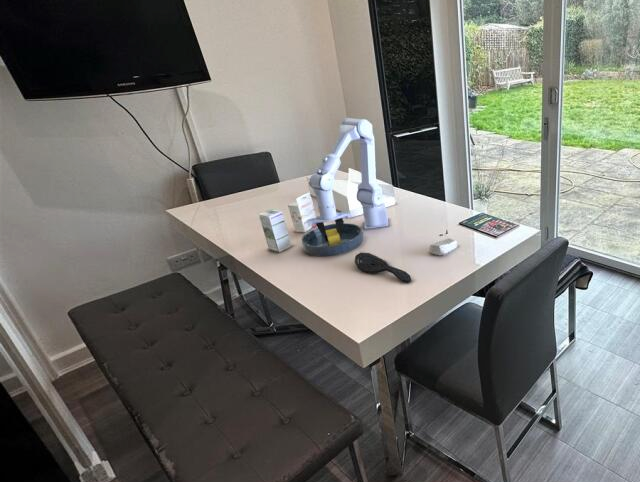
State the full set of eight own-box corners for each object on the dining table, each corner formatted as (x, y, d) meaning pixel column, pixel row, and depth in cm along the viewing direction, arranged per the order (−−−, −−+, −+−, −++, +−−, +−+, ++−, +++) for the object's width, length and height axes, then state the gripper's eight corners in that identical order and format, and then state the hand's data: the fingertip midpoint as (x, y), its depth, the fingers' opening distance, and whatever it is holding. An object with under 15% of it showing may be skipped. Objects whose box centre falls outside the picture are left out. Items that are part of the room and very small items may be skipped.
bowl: (363, 229, 168) (362, 220, 166) (363, 251, 149) (361, 241, 147) (307, 236, 161) (305, 227, 160) (300, 261, 143) (297, 250, 141)
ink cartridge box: (307, 223, 173) (300, 190, 168) (318, 224, 173) (310, 191, 167) (294, 231, 166) (285, 197, 160) (304, 232, 165) (296, 198, 159)
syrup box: (292, 246, 154) (283, 210, 148) (278, 252, 149) (268, 216, 143) (282, 243, 156) (272, 208, 150) (268, 250, 151) (257, 214, 145)
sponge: (337, 237, 158) (335, 228, 157) (341, 244, 153) (339, 234, 151) (326, 240, 156) (324, 230, 155) (329, 247, 151) (327, 237, 149)
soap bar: (451, 253, 154) (451, 238, 154) (461, 254, 150) (461, 238, 150) (428, 254, 147) (428, 238, 147) (439, 255, 143) (439, 239, 143)
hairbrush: (399, 280, 125) (348, 255, 137) (400, 290, 127) (349, 265, 139) (419, 268, 131) (368, 246, 144) (419, 278, 133) (369, 255, 145)
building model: (310, 194, 208) (306, 176, 204) (351, 184, 223) (348, 167, 219) (351, 217, 179) (347, 197, 175) (395, 204, 194) (392, 185, 190)
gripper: (344, 198, 155) (350, 230, 161) (303, 206, 148) (310, 239, 154) (348, 203, 150) (354, 237, 155) (305, 212, 143) (313, 246, 148)
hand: (333, 238), depth 154 cm, fingers closed on sponge, 4 cm apart
